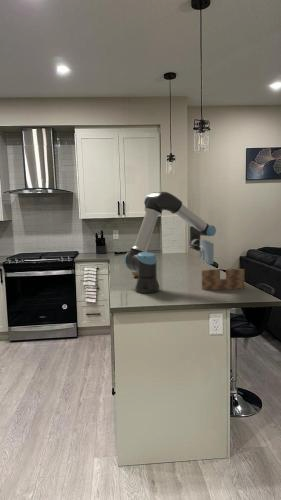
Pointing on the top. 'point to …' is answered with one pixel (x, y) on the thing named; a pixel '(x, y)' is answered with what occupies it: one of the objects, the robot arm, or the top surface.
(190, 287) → the top surface
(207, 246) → the slate plate
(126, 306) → the top surface
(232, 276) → the brown wooden panel
